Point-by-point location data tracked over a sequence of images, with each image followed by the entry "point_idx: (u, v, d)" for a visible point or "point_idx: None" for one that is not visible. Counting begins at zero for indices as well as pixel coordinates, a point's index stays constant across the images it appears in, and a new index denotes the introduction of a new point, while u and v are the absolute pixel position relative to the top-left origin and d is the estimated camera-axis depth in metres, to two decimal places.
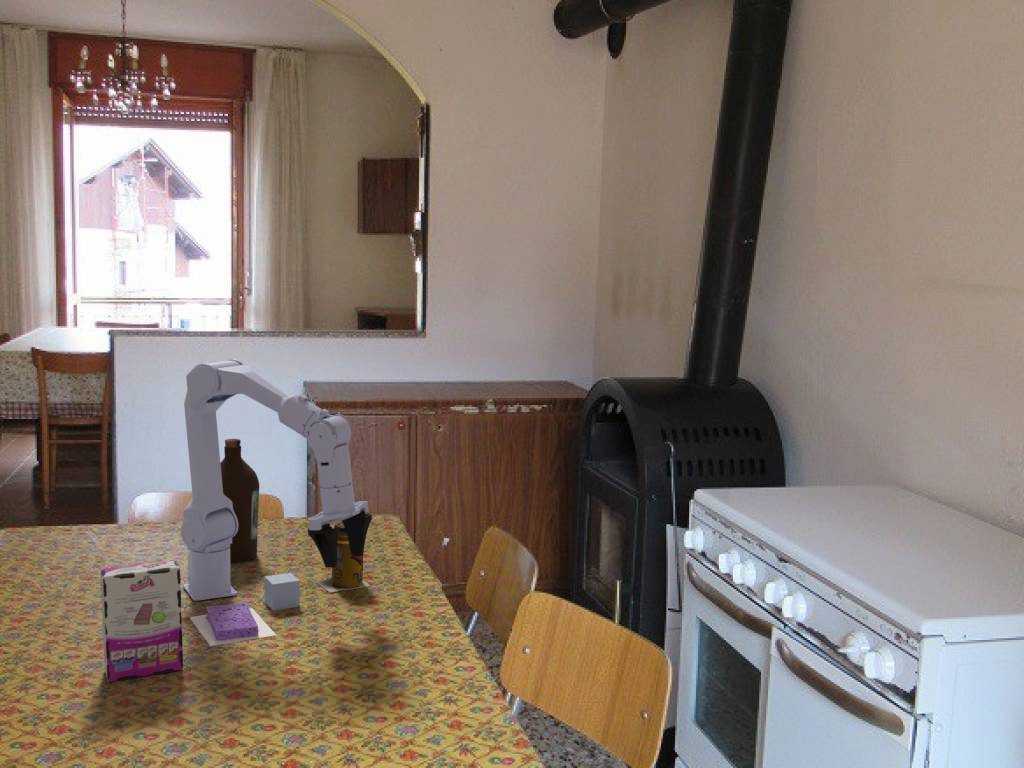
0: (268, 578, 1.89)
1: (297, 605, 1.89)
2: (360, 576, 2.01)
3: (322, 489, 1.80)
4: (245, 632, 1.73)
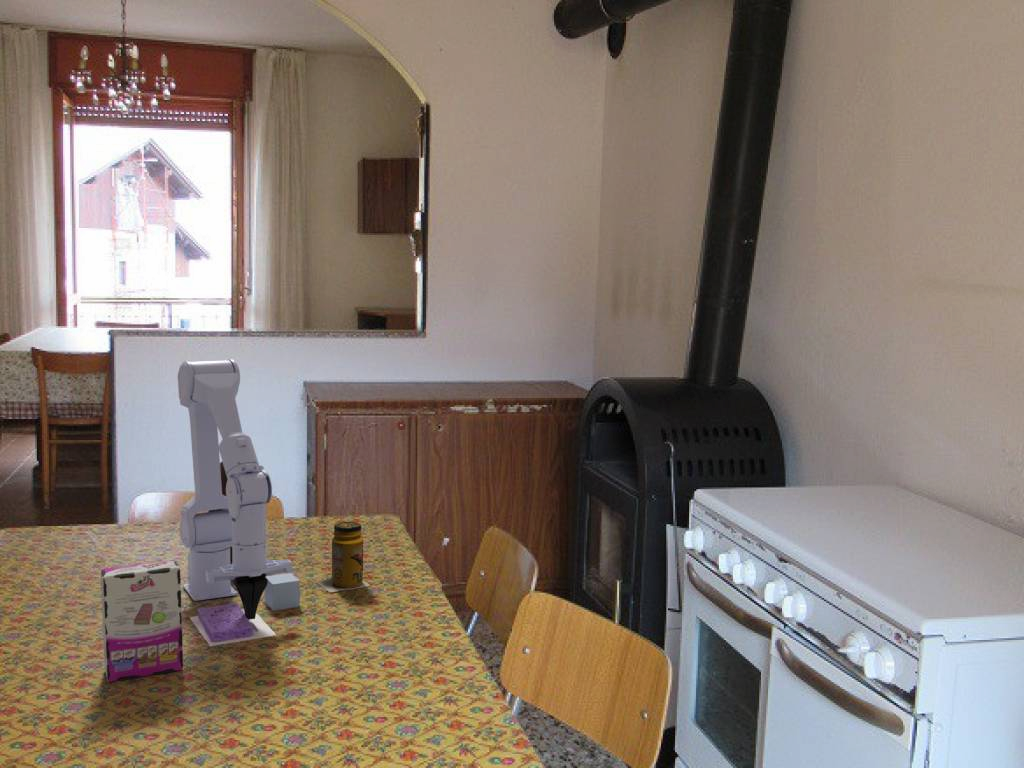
0: (268, 578, 1.89)
1: (297, 605, 1.89)
2: (360, 576, 2.01)
3: (232, 543, 1.78)
4: (240, 633, 1.73)
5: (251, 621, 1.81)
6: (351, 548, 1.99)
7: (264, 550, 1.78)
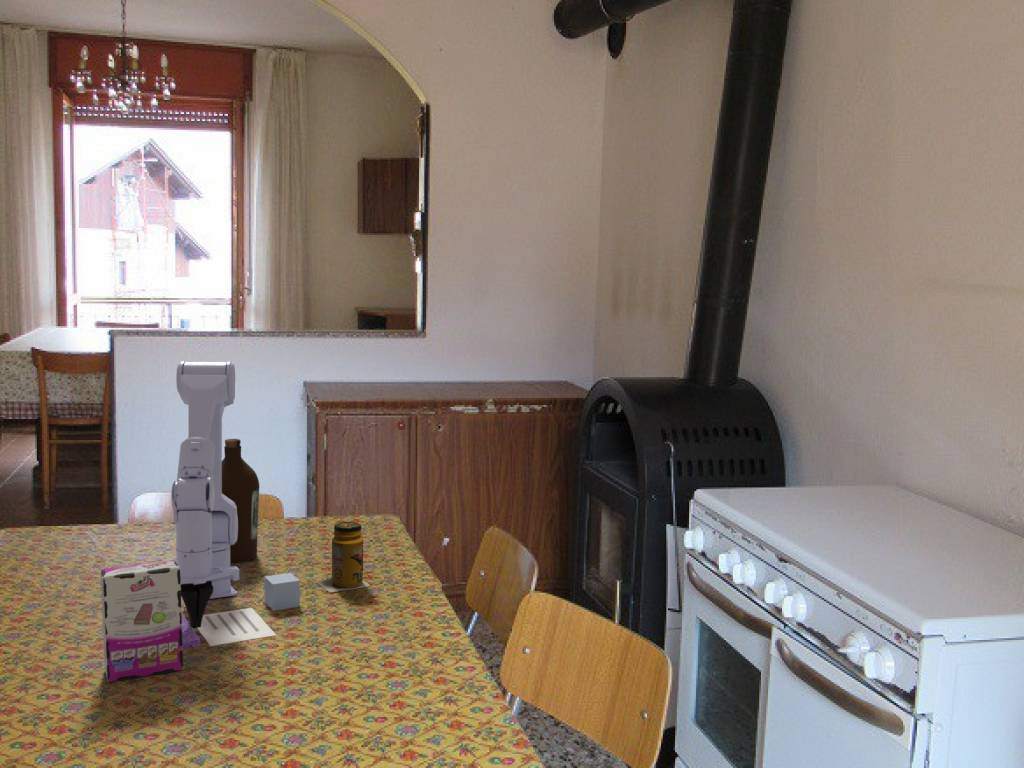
0: (268, 578, 1.89)
1: (297, 605, 1.89)
2: (360, 576, 2.01)
3: None
4: (187, 645, 1.69)
5: (251, 621, 1.81)
6: (351, 548, 1.99)
7: (209, 557, 1.73)
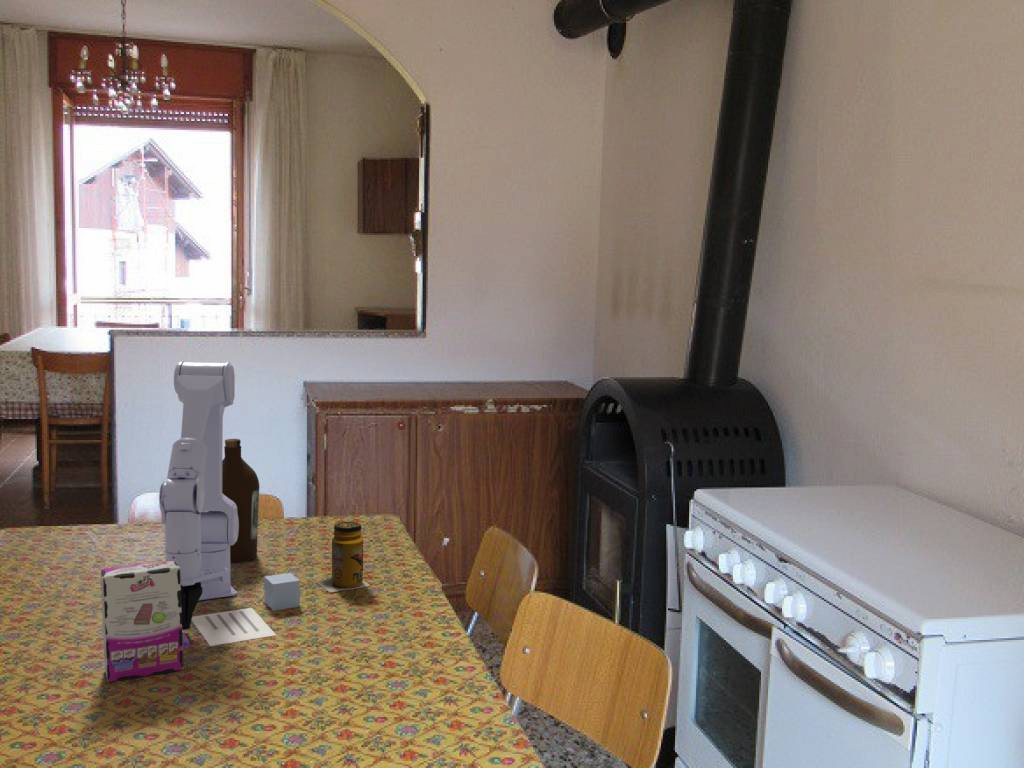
0: (268, 578, 1.89)
1: (297, 605, 1.89)
2: (360, 576, 2.01)
3: None
4: None
5: (251, 621, 1.81)
6: (351, 548, 1.99)
7: (198, 558, 1.72)
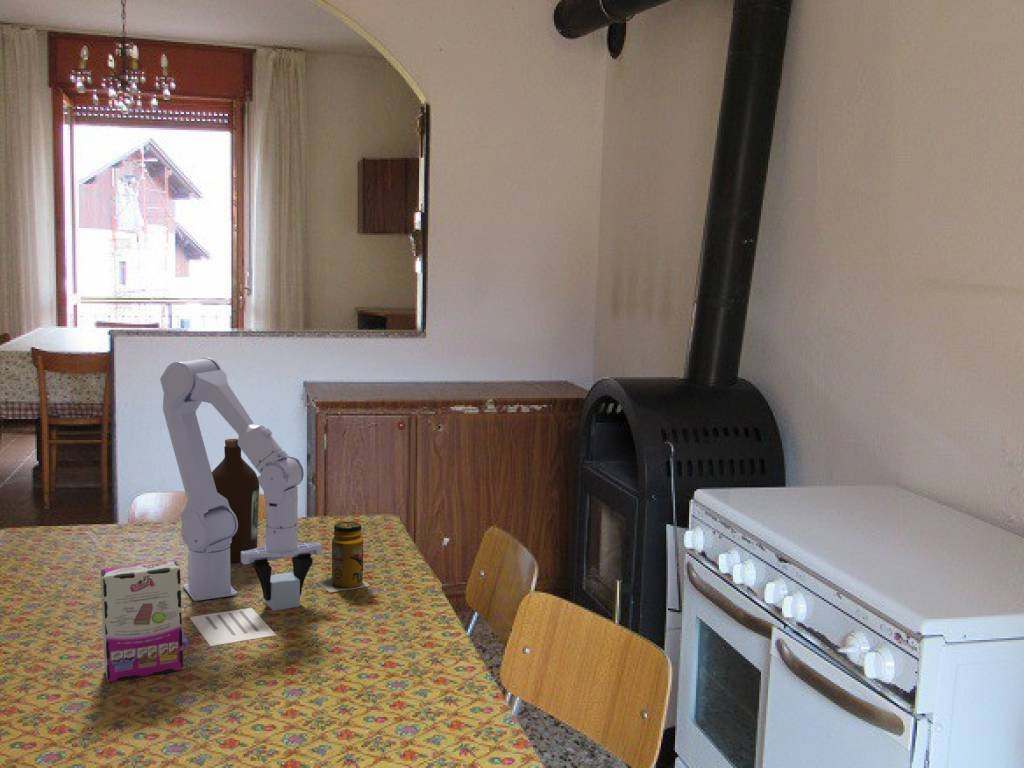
0: None
1: (297, 604, 1.89)
2: (360, 576, 2.01)
3: None
4: None
5: (251, 621, 1.81)
6: (351, 548, 1.99)
7: (296, 533, 1.88)
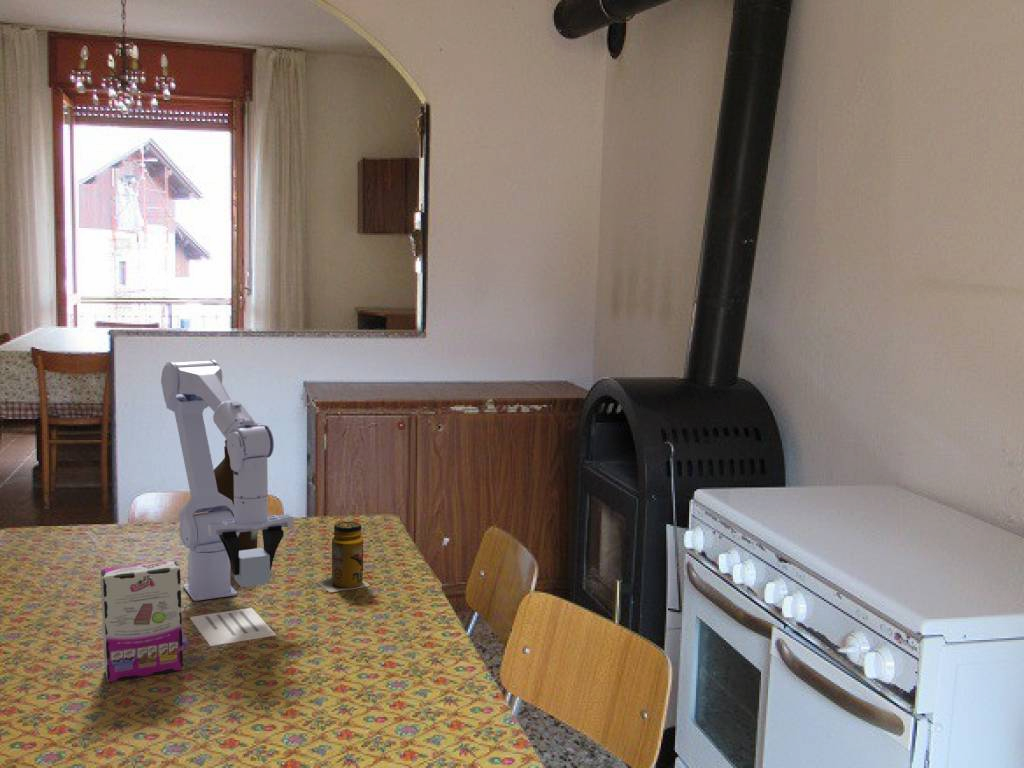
0: None
1: (267, 581, 1.81)
2: (360, 576, 2.01)
3: None
4: None
5: (251, 621, 1.81)
6: (351, 548, 1.99)
7: (265, 504, 1.80)
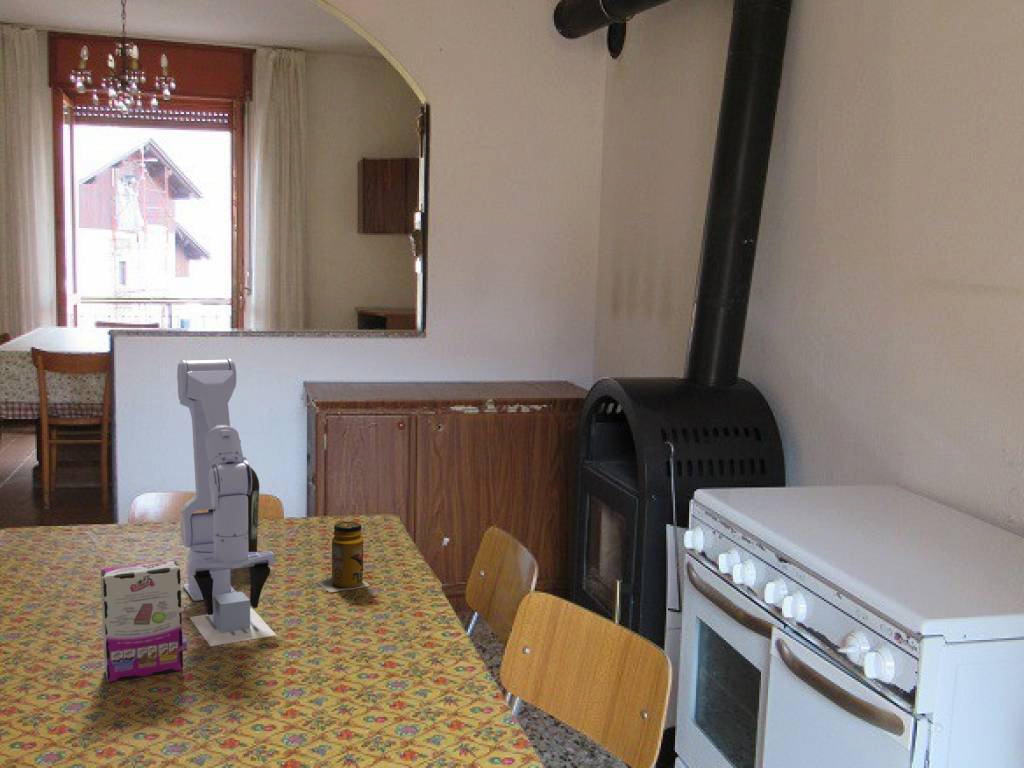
0: (217, 597, 1.78)
1: (247, 626, 1.77)
2: (360, 576, 2.01)
3: (213, 534, 1.76)
4: None
5: (251, 621, 1.81)
6: (351, 548, 1.99)
7: (246, 541, 1.76)
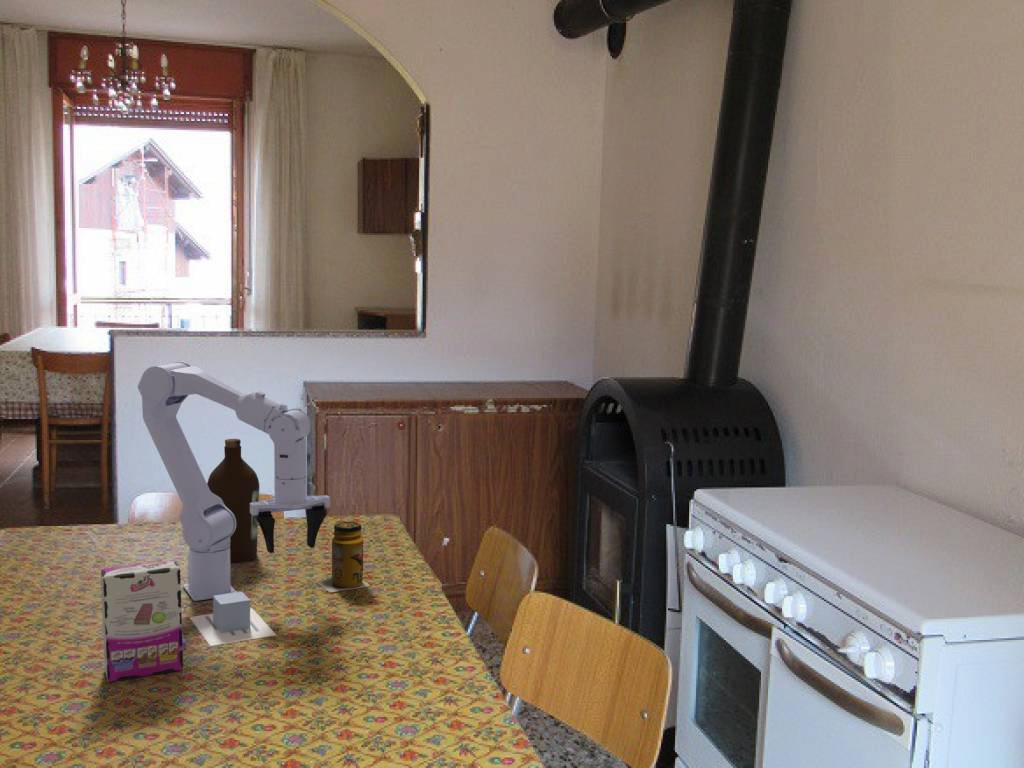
0: (217, 597, 1.78)
1: (247, 626, 1.77)
2: (360, 576, 2.01)
3: (274, 477, 1.88)
4: None
5: (251, 621, 1.81)
6: (351, 548, 1.99)
7: (304, 484, 1.88)
